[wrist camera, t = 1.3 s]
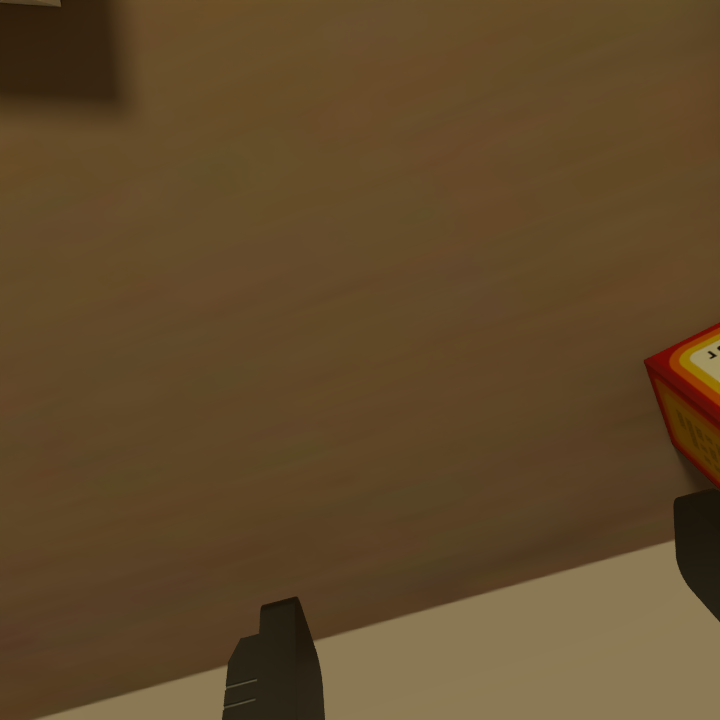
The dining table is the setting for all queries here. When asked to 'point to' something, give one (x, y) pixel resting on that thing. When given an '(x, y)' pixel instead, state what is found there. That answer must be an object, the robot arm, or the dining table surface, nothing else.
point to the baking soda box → (691, 397)
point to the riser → (34, 2)
